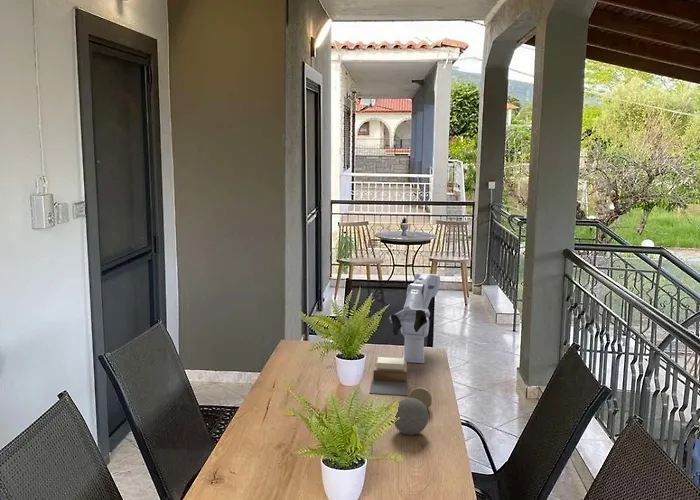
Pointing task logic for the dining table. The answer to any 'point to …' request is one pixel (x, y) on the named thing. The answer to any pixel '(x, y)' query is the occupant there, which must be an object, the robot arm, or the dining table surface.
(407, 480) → the dining table surface
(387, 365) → the cream rectangular block
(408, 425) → the decorative ball
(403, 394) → the mat
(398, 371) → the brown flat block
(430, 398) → the tan short cylinder
